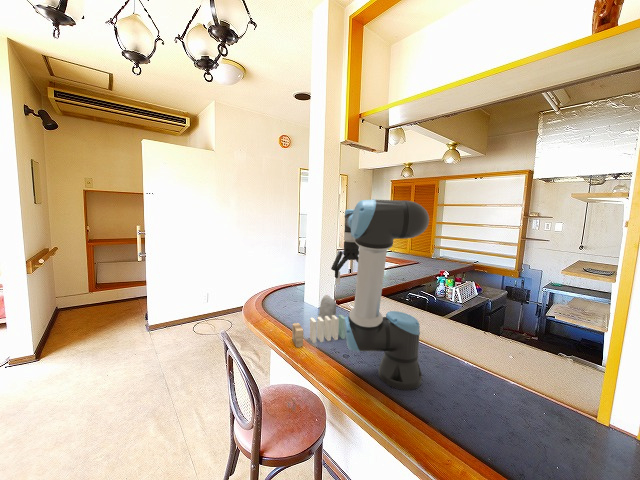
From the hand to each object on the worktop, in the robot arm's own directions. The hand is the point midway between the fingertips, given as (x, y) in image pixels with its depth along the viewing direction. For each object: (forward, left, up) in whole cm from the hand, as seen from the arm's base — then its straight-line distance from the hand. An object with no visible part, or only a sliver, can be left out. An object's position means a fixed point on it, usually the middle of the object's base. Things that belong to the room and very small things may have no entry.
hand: (350, 283), depth 133 cm
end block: (-6, +28, -24) cm, 37 cm away
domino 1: (-6, +21, -24) cm, 32 cm away
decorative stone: (+9, +8, -24) cm, 27 cm away
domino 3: (-6, +14, -24) cm, 28 cm away
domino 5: (-6, +6, -24) cm, 26 cm away
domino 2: (-6, +17, -24) cm, 30 cm away
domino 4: (-6, +10, -24) cm, 27 cm away
